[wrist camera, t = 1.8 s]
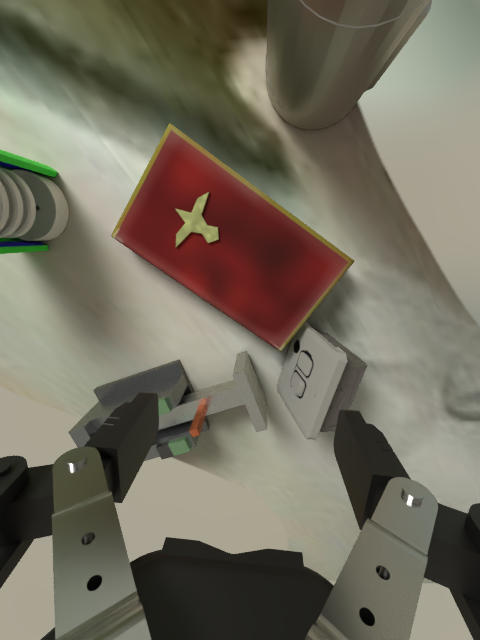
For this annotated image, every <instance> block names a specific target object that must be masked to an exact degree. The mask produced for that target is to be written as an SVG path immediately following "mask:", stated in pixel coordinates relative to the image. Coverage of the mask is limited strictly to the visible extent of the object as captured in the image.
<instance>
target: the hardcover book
mask: <svg viewBox="0 0 480 640" xmlns="http://www.w3.org/2000/svg"><path fill="white" fill-rule="evenodd" d="M112 237H113V238H114V239H116V240H117V241H119V242H120V243H122V244H123V245H125V246H126V247H128V248H129V249H130V250H132V251H133V252H135V253H136V254H138V255H139V256H141V257H142V258H144V259H145V260H147V261H148V262H150V263H151V264H152V265H154V266H155V267H157V268H158V269H160V270H161V271H163V272H164V273H166V274H167V275H169V276H170V277H172V278H173V279H174V280H176V281H177V282H179V283H180V284H182V285H183V286H185V287H186V288H188V289H189V290H191V291H192V292H194V293H195V294H197V295H198V296H199V297H201V298H202V299H204V300H205V301H207V302H208V303H210V304H211V305H213V306H214V307H216V308H217V309H219V310H220V311H221V312H223V313H224V314H226V315H227V316H229V317H230V318H232V319H233V320H235V321H236V322H238V323H239V324H241V325H242V326H243V327H245V328H246V329H248V330H249V331H251V332H252V333H254V334H255V335H257V336H258V337H260V338H261V339H263V340H264V341H265V342H267V343H268V344H270V345H271V346H273V347H274V348H276V349H277V350H279V351H282V350H283V349H284V348H285V347H286V345H287V344H288V343H289V342H290V340H291V339H292V338H293V337H294V335H295V334H296V333H297V332H298V330H299V329H300V328H301V327H302V325H303V324H304V323H305V322H306V321H307V319H308V318H309V317H310V316H311V314H312V313H313V312H314V311H315V309H316V308H317V307H318V306H319V304H320V303H321V302H322V301H323V299H324V298H325V297H326V296H327V294H328V293H329V292H330V291H331V290H332V288H333V287H334V286H335V285H336V283H337V282H338V281H339V280H340V278H341V277H342V276H343V275H344V273H345V272H346V271H347V270H348V268H349V267H350V266H351V265H352V264H353V262H354V260H352V259H351V258H350V257H348V256H347V255H346V254H344V253H343V252H342V251H340V250H339V249H338V248H336V247H335V246H334V245H332V244H331V243H330V242H328V241H327V240H326V239H324V238H323V237H322V236H320V235H319V234H318V233H316V232H315V231H314V230H312V229H311V228H310V227H308V226H307V225H306V224H304V223H303V222H302V221H300V220H299V219H297V218H296V217H295V216H293V215H292V214H291V213H289V212H288V211H287V210H285V209H284V208H283V207H281V206H280V205H279V204H277V203H276V202H275V201H273V200H272V199H271V198H269V197H268V196H267V195H265V194H264V193H263V192H261V191H260V190H259V189H257V188H256V187H255V186H253V185H252V184H251V183H249V182H248V181H247V180H245V179H244V178H243V177H241V176H240V175H239V174H237V173H236V172H235V171H233V170H232V169H231V168H229V167H228V166H227V165H225V164H224V163H222V162H221V161H220V160H218V159H217V158H216V157H214V156H213V155H212V154H210V153H209V152H208V151H206V150H205V149H204V148H202V147H201V146H200V145H198V144H197V143H196V142H194V141H193V140H192V139H190V138H189V137H188V136H186V135H185V134H184V133H182V132H181V131H180V130H178V129H177V128H176V127H174V126H173V125H172V124H170V123H169V125H168V127H167V129H166V131H165V133H164V135H163V137H162V139H161V141H160V143H159V145H158V146H157V148H156V150H155V152H154V154H153V156H152V158H151V160H150V162H149V164H148V166H147V168H146V170H145V171H144V173H143V175H142V177H141V179H140V181H139V183H138V185H137V187H136V189H135V191H134V193H133V195H132V197H131V198H130V200H129V202H128V204H127V206H126V208H125V210H124V212H123V214H122V216H121V218H120V220H119V222H118V223H117V225H116V227H115V229H114V231H113V233H112Z"/></svg>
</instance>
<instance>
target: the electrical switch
mask: <svg viewBox="0 0 480 640" xmlns="http://www.w3.org/2000/svg"><path fill="white" fill-rule="evenodd" d="M360 363H363V364H360ZM366 367H367V365H366V363H365V362H364V361H362V360H361V359H360V358H359V357H357V356H356V355H355V354H353V353H352V352H351V351H350V350H348V349H347V348H346V347H344V346H343V345H342V344H340V343H339V342H338V341H337V340H335V339H334V338H333V337H331V336H330V335H329V334H328V333H323V332H320V331H316V330H314V329H313V328H312V327H311V325H310V324H309V323H308V322H305V323H304V324H303V325H302V327H301V328H300V329H299V330H298V332H297V333H296V334H295V335H294V337H293V338H292V341H291V344H290V347H289V350H288V353H287V356H286V359H285V362H284V365H283V368H282V372H281V375H280V378H279V381H278V384H277V391H278V393H279V394H280V396H281V398H282V399H283V401H284V403H285V405H286V406H287V408H288V410H289V411H290V413H291V415H292V417H293V418H294V420H295V422H296V423H297V425H298V427H299V429H300V430H301V432H302V434H303V435H304V437H305V438H306V439H313V440H316V439H317V436H318V434H319V431H320V432H326V431H336V426H337V420H338V414H339V411H340V410H349V408H350V405H351V403H352V401H353V398H354V396H355V393H356V391H357V389H358V386H359V384H360V381H361V379H362V377H363V374H364V372H365V370H366ZM358 374H359V375H358ZM342 389H345V390H342ZM330 404H331V405H330ZM335 405H336V406H335ZM338 409H339V410H338ZM328 410H329V411H328Z"/></svg>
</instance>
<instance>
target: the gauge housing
mask: <svg viewBox="0 0 480 640" xmlns="http://www.w3.org/2000/svg"><path fill="white" fill-rule="evenodd" d="M93 391H94V392H95V394H96V396H97V398H98V400H99V402H98V403H97V404H96V405H95V406H94V407H93V408H92V409H91V410H90V411H89V412H88V413H87V414H86V415H85V416H84V417H83V418H82V419H81V420H80V421H79V422H78V423H77V424H76V425H75V426H74V427H73V428H72V429H71V430H70V431H69V434H70V435H71V437H72V439H73V440H74V442H75V444H76V445H77V447H78V448H79V447H83V446H84V445H85V444H86V443H87V442H88V441H89V439H90V438H91V437H92V436H93V435H94V433H95V432H96V431H97V430H98V429H99V428H100V426H101V425H103V423H104V422H105V420H106V419H107V418H109V416H110V415H111V413H112V412H113V411H114V410H115V409H116V408H117V407H119V406H120V405H122V404H124V403H125V402H132V401H133V399H134V398H135V397H136V395H137V394H138V393H139V392H149V393H157V395H158V407H159V416H160V415H163V414H167V413H170V412H171V411H172V409H174V408H177V406H178V404H179V402H180V400H181V398H182V396H184V395H187V394H190V393H193V392H194V390H193V388H192V386H191V384H190V382H189V380H188V378H187V375H186V373H185V371H184V369H183V367H182V365H181V362H180V360H177V361H174V362H171V363H168V364H165V365H162V366H159V367H156V368H153V369H150V370H147V371H144V372H141V373H138V374H135V375H132V376H129V377H126V378H123V379H120V380H117V381H114V382H111V383H108V384H105V385H102V386H99V387H97V388H96V389H94V390H93ZM192 422H193V420H190V421H187V422H183V423H180V424H177V425H173V426H170V427H167V428H163V429H160V430H158V433H157V436H156V439H155V441H154V442H153V444H152V446H151V448H150V450H149V452H148V454H147V456H146V458H145V460H144V461H146V460H149V459H152V458H156V457H161V459H165V458H169V457H172V456H176V455H179V454H183V453H187V452H190V451H191V448H192V447H196V443H197V440H198V437H199V436H195V437H192V436H191V434H190V431H189V430H190V427H191V424H192ZM209 427H210V425H209V423H208V421H207V418H206V416H205V420H204V423H203V426H202V429H201V432H202V431H205V430H209Z"/></svg>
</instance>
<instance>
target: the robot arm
mask: <svg viewBox="0 0 480 640" xmlns="http://www.w3.org/2000/svg"><path fill="white" fill-rule="evenodd" d="M431 3H432V0H268V22H267V53H266V85H267V90H268V95H269V97H270V100H271V102H272V104H273V106H274V108H275V109H276V111H277V112H278V114H279V115H280V116H281V117H282V118H283V119H284V120H285V121H286V122H288V123H290V124H292V125H293V126H295V127H298V128H302V129H306V130H317V129H322V128H326V127H328V126H330V125H333V124H335V123H337V122H338V121H339V120H341V119H342V118H343V117H345V116H346V115H347V114H348V112H349V111H350V110H351V109H352V108H353V107H354V106H355V104H356V103H357V101H358V100H359V99H360V97H361V96H362V94H363V93H364V92H365V91H366V90H369V89H371V88H373V87H374V85H375V84H376V83H377V81H378V80H379V79H380V77H381V76H382V75H383V73H384V72H385V71H386V69H387V68H388V67H389V65H390V64H391V63H392V61H393V60H394V59H395V57H396V56H397V55H398V53H399V52H400V50H401V49H402V48H403V46H404V45H405V44H406V43H407V41H408V40H409V38H410V37H411V36H412V35H413V33H414V32H415V30H416V29H417V28H418V26H419V25H420V24H421V22H422V21H423V20H424V18H425V17H426V16H427V14H428V12H429V10H430V8H431ZM158 429H159V407H158V395H157V393H149V392H139V393H138V394H137V395H136V397H135V398H134V399H133V401H132V402H125V403H124V404H122V405H120V406H119V407H117V408H116V409H115V410H114V411H113V412H112V413H111V415H110V416H109V418H107V419H106V420H105V422H104V423H103V425H101V426H100V428H99V429H98V430H97V431H96V432H95V433H94V435H93V436H92V437H91V438H90V439H89V441H88V442H87V443H86V444H85V445H84V446H83V447H79V448H75V449H72V450H70V451H68V452H66V453H64V454H63V455H61V456H60V457H59V458H58V459H57V460H56V461H55V463H54V464H51V465H45V466H39V467H31V468H28V466H27V462H26V459H25V458H23V457H21V456H7V457H3V458H0V588H1V587H2V585H3V584H4V582H5V581H6V579H7V578H8V577H9V575H10V574H11V572H12V571H13V569H14V568H15V566H16V565H17V563H18V562H19V561H20V559H21V558H22V556H23V555H24V553H25V552H26V550H27V549H28V548H29V546H30V545H31V543H32V542H33V540H34V539H36V538H41V537H45V536H50V535H52V539H53V571H54V604H55V605H54V606H55V627H54V628H53V629H52V630H51V631H50V632H49V633H48V634H46V635H45V636H44V637H43V638H42V639H41V640H409V638H410V634H411V629H412V625H413V621H414V616H415V612H416V608H417V603H418V599H419V595H420V591H421V586H422V582H423V578H427V579H429V580H431V581H433V582H436V583H438V584H440V585H443V586H445V587H447V588H449V589H450V591H451V594H452V595H453V598H454V600H455V602H456V604H457V606H458V608H459V610H460V612H461V614H462V616H463V618H464V621H465V623H466V625H467V627H468V629H469V631H470V633H471V635H472V637H473V639H474V640H480V503H478V504H474V505H472V506H471V507H470V509H469V512H468V514H467V513H464V512H461V511H458V510H455V509H452V508H450V507H447V506H444V505H441V504H439V503H437V500H436V498H435V497H434V495H433V494H432V493H431V492H430V491H429V490H428V489H427V488H425V487H424V486H423V485H421V484H420V483H418V482H416V481H414V480H411V479H410V477H409V476H408V474H407V472H406V471H405V469H404V467H403V466H402V464H401V463H400V461H399V459H398V458H397V456H396V454H395V453H394V452H393V450H392V448H391V446H390V445H389V444H388V441H387V440H386V438H385V436H384V435H383V433H382V432H381V431H379V430H378V429H377V428H376V427H375V426H374V425H372V424H366V422H365V420H364V419H363V417H362V415H361V413H360V412H359V411H353V410H340V411H339V414H338V420H337V426H336V431H335V437H334V453H335V457H336V460H337V463H338V466H339V469H340V472H341V475H342V478H343V481H344V484H345V486H346V489H347V492H348V495H349V498H350V501H351V504H352V507H353V510H354V513H355V516H356V519H357V522H358V525H359V528H360V530H361V532H360V534H359V536H358V538H357V540H356V542H355V544H354V546H353V548H352V550H351V553H350V555H349V557H348V559H347V561H346V563H345V565H344V567H343V569H342V571H341V573H340V575H339V577H338V579H337V581H336V583H335V585H334V586H333V585H332V584H331V583H330V582H329V581H328V580H327V579H325V578H324V577H322V576H321V575H320V574H318V573H317V572H315V571H313V570H311V569H309V568H307V567H305V566H304V564H303V556H302V552H293V551H284V550H275V549H263V550H257V551H251V552H245V553H239V554H230V553H227V552H224V551H222V550H220V549H217V548H215V547H212V546H210V545H208V544H205V543H203V542H200V541H196V540H187V539H177V538H169V537H166V539H165V542H164V545H163V548H162V550H158V551H154V552H151V553H148V554H146V555H143V556H141V557H139V558H137V559H136V560H134V561H132V562H129V559H128V555H127V551H126V547H125V543H124V539H123V535H122V531H121V527H120V523H119V519H118V515H117V511H116V508H115V504H114V502H117V503H122V502H123V500H124V498H125V496H126V494H127V492H128V490H129V488H130V486H131V484H132V483H133V481H134V479H135V477H136V474H137V473H138V471H139V469H140V467H141V465H142V463H143V462H144V460H145V458H146V456H147V454H148V452H149V450H150V448H151V446H152V444H153V442H154V441H155V439H156V436H157V433H158Z"/></svg>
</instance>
